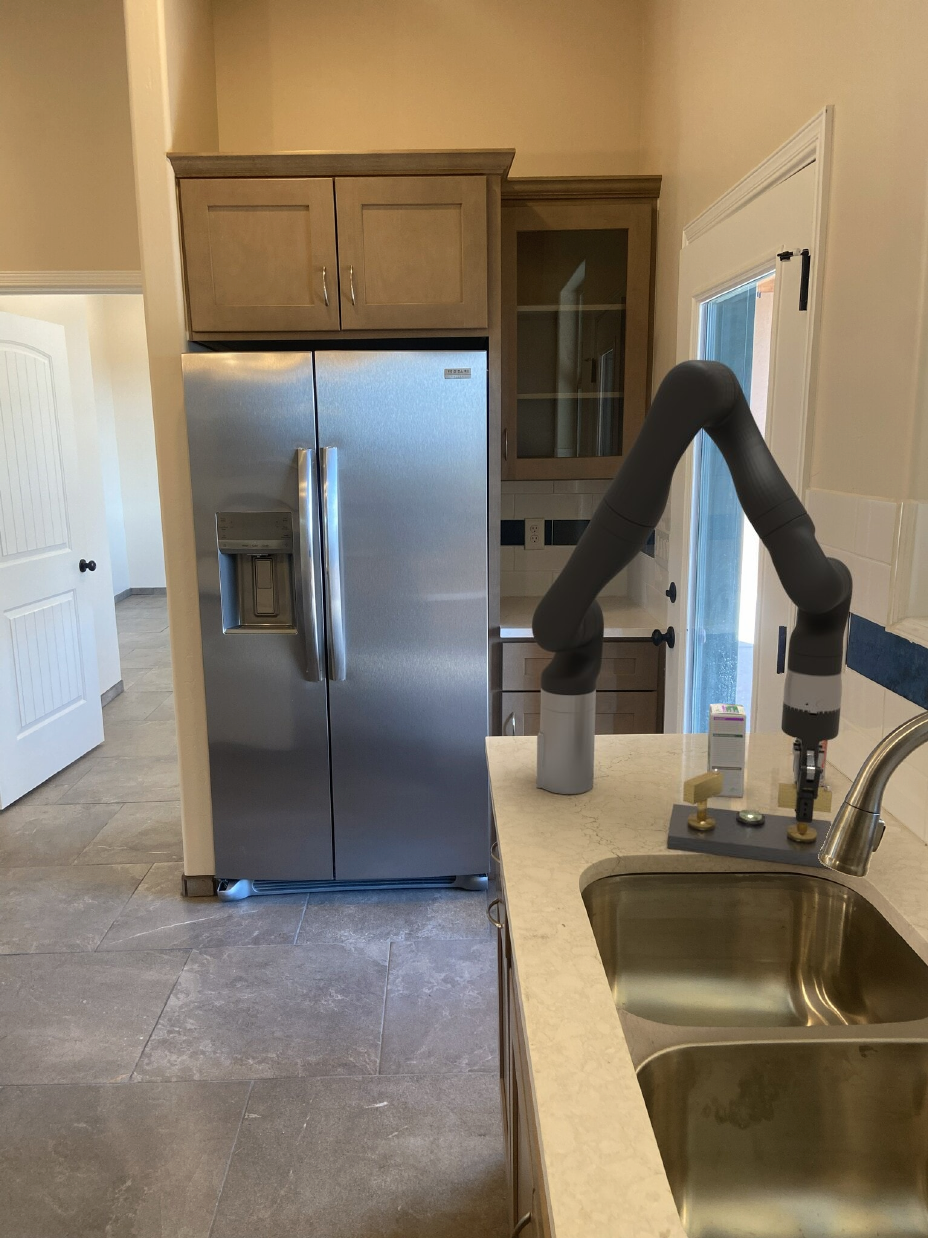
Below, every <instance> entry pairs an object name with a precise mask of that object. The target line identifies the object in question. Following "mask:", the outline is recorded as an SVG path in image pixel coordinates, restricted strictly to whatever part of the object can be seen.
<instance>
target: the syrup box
mask: <svg viewBox="0 0 928 1238" xmlns="http://www.w3.org/2000/svg"><path fill="white" fill-rule="evenodd" d="M746 729H747V714H746V710H745V708H744V705H742V704H736V703H735V704H734V703H710V704H709V714H708V732H707V733H708V734H707V735H708V738H707V739H708V740H707V741H708V742H707V761H706V762H707V764H706V765H707V766H706V773H707V772H709V771H712V770H713V769H718V770H719V772H720V773H723V780H722V793H720V794H717V795H715V796H714V797H725V798H741V799H742V798H743V797H744V783H745V768H746V767H745V764H746V737H747V736H746V734H747V733H746V732H747V731H746Z"/></svg>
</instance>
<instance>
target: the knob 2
mask: <svg viewBox="0 0 928 1238" xmlns="http://www.w3.org/2000/svg"><path fill="white" fill-rule="evenodd" d="M803 789H810V790H812V788H803ZM796 791H797V785H795V784H794V783H782V782H778V791H777V792H778V794H777V807H778V808H782V809H783V808H785V809H790V810H792V809H793V810H795V809H796V804H797V794H796ZM832 797H833V789H832V787H831V786H830V785H825V786H824V787H823V786H821V787H818V797H817V799H814V806H813V812H819V813H830V814H831V813H832V801H833V798H832ZM787 836H788V837H789V838H791V839H793V840H795V841H799V842H813V841H815V840H816V838H817V831H816V830H815V829H814V828H812V827H809V826H808V823H804V822H798V821H797V825H790V826H788V828H787Z"/></svg>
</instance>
